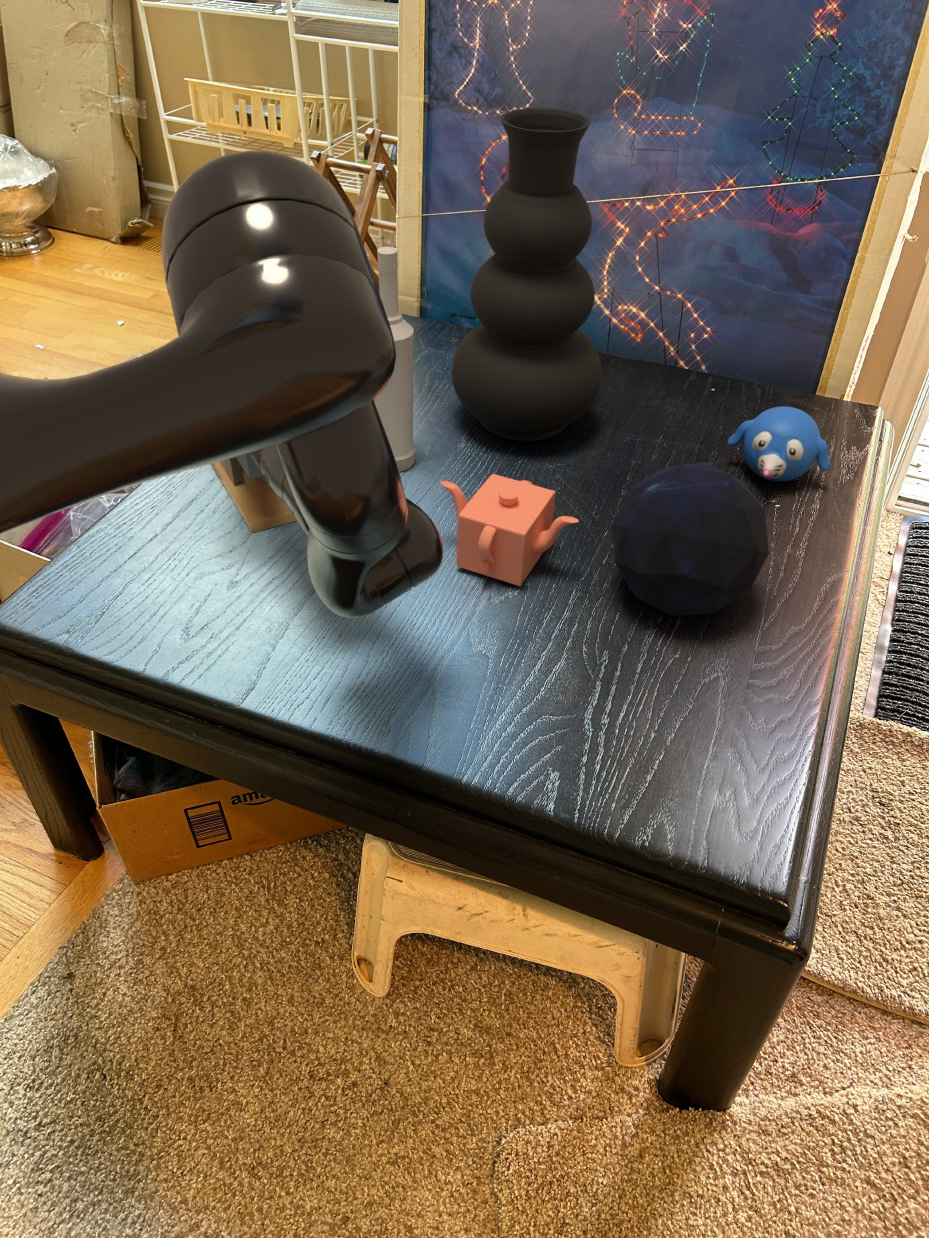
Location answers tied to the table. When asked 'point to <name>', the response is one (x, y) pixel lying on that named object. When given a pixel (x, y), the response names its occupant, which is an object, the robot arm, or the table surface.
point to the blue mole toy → (782, 444)
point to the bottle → (397, 367)
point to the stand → (252, 497)
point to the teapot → (505, 527)
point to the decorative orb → (690, 539)
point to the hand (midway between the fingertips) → (243, 378)
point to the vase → (532, 289)
